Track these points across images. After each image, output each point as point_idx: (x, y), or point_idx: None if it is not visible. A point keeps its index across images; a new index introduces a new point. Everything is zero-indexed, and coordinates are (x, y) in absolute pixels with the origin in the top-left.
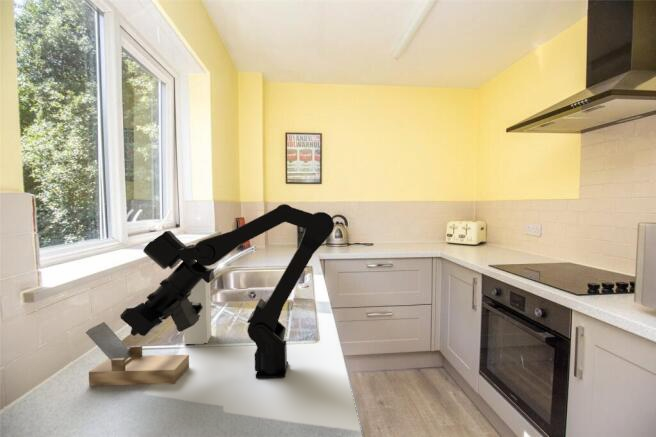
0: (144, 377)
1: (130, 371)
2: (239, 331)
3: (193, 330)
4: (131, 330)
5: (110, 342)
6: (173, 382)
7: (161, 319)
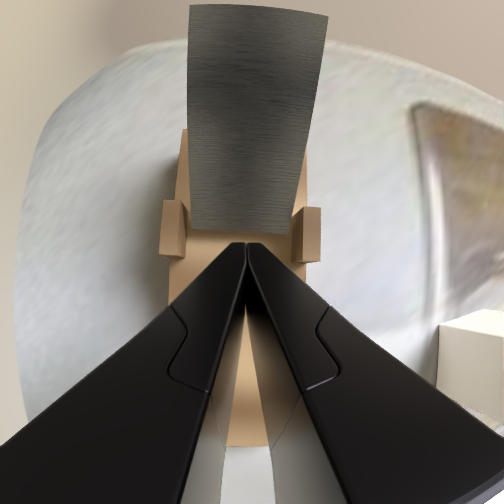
0: None
1: (169, 287)
2: None
3: (469, 364)
4: (223, 253)
5: (238, 129)
6: None
7: (275, 498)
